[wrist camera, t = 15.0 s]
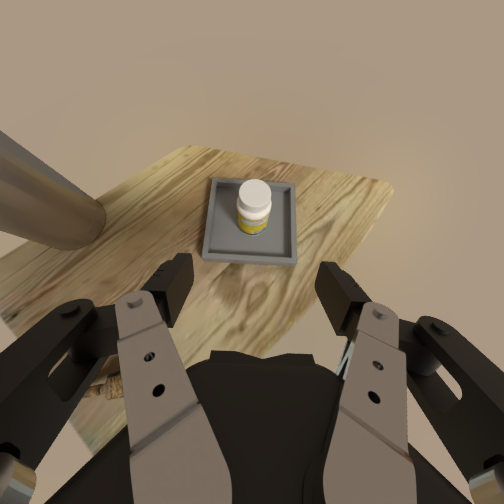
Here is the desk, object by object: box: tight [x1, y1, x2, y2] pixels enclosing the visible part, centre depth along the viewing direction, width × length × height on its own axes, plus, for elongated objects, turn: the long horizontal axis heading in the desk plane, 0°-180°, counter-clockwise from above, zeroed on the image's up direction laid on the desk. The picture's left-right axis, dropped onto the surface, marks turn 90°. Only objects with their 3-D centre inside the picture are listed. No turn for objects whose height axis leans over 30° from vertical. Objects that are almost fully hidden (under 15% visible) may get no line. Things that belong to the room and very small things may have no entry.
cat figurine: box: [82, 371, 124, 400], centre depth 22 cm, size 3×8×4 cm, turn 103°
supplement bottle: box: [237, 179, 272, 236], centre depth 26 cm, size 5×5×8 cm
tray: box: [202, 177, 297, 267], centre depth 30 cm, size 14×14×2 cm
